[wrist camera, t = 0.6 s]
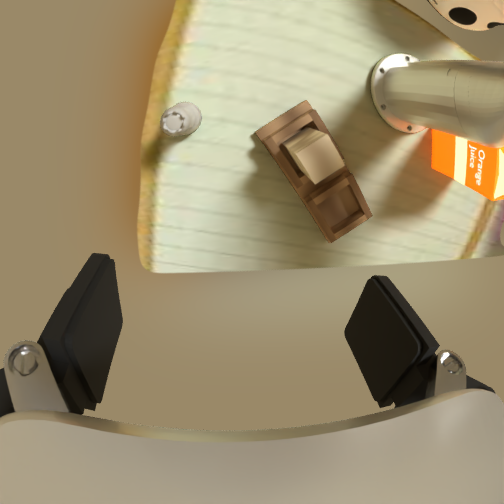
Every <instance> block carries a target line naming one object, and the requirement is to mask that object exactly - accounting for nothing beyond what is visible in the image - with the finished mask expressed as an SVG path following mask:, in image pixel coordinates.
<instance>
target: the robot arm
mask: <svg viewBox="0 0 504 504" xmlns="http://www.w3.org/2000/svg"><path fill="white" fill-rule="evenodd" d="M379 70H380V71H379ZM371 94H372V98H373V102H374V105H375V107H376V109H377V111H378V112H379V114H380V115H381V117H382V118H383V119H384V120H385V121H386V123H388V124H389V125H390V126H392V127H393V128H395V129H397V130H399V131H402V132H406V133H417V132H420V131H422V130H424V129H426V128H430V129H434V130H437V131H441V132H444V133H447V134H450V135H454V136H457V137H460V138H463V139H466V140H469V141H471V142H474V143H477V144H480V145H483V146H486V147H490V148H501V147H504V62H498V61H496V62H495V61H474V60H434V61H420V60H418V59H417V58H415V57H413V56H411V55H409V54H404V53H395V54H390V55H388V56H385V57H384V58H382V59H381V60H380V61H379V62H378V63H377V65H376V66H375V68H374V70H373V73H372V77H371ZM381 106H382V108H381ZM122 323H123V318H122V313H121V306H120V300H119V293H118V286H117V279H116V271H115V262H114V260H113V259H110V257H109V255H108V254H99V253H93V254H92V255H91V256H90V258H89V259H88V260H87V262H86V263H85V265H84V266H83V268H82V270H81V271H80V272H79V274H78V276H77V277H76V279H75V280H74V282H73V284H72V285H71V287H70V288H69V289H67V290H66V292H65V293H64V295H63V297H62V298H61V300H60V302H59V303H58V305H57V307H56V308H55V310H54V312H53V314H52V315H51V317H50V319H49V321H48V323H47V324H46V326H45V328H44V330H43V332H42V334H41V336H40V338H39V340H38V342H37V343H36V342H34V341H27V340H25V341H20V342H18V343H16V344H14V345H13V346H12V347H11V348H10V349H9V350H8V351H7V353H6V354H5V358H4V368H2V369H0V504H504V403H503V402H502V401H501V399H500V398H499V397H498V396H497V395H496V394H495V392H494V390H493V389H492V388H491V387H488V386H487V385H485V384H483V383H481V382H479V381H477V380H475V379H473V378H471V377H469V376H467V375H466V367H465V364H464V362H463V360H462V359H461V358H460V357H459V356H458V355H457V354H456V353H454V352H453V351H450V350H442V351H440V352H439V353H438V355H437V356H436V354H435V351H436V350H437V349H438V347H439V346H440V345H439V344H438V343H437V341H436V340H435V338H434V337H433V335H432V334H431V333H430V331H429V330H428V329H427V327H426V326H425V324H424V323H423V322H422V320H421V319H420V318H419V316H418V315H417V314H416V312H415V311H414V310H413V308H412V307H411V306H410V304H409V303H408V302H407V301H406V299H405V298H404V297H403V295H402V294H401V293H400V292H399V290H398V289H397V288H396V287H395V285H394V284H393V283H392V282H391V281H390V279H389V278H388V277H387V276H377V275H374V276H372V277H371V279H369V280H368V281H367V283H366V285H365V287H364V290H363V292H362V294H361V296H360V298H359V301H358V303H357V305H356V307H355V309H354V311H353V313H352V315H351V318H350V320H349V322H348V324H347V326H346V328H345V338H346V340H347V342H348V344H349V346H350V348H351V350H352V352H353V355H354V357H355V359H356V361H357V363H358V365H359V367H360V370H361V372H362V374H363V376H364V378H365V381H366V383H367V385H368V387H369V390H370V392H371V394H372V396H373V398H374V400H375V401H377V402H378V405H379V407H380V408H382V407H386V406H390V405H391V404H392V403H393V402H394V403H395V408H394V409H391V410H387V411H383V412H379V413H375V414H370V415H366V416H362V417H357V418H352V419H347V420H341V421H336V422H330V423H323V424H317V425H310V426H301V427H291V428H281V429H267V430H246V431H245V430H244V431H209V430H187V429H174V428H164V427H154V426H145V425H137V424H130V423H124V422H117V421H112V420H106V419H101V418H95V417H90V416H83V415H82V414H83V413H84V408H85V409H89V410H93V411H95V408H96V403H101V401H102V397H103V393H104V389H105V385H106V381H107V377H108V373H109V369H110V366H111V362H112V359H113V355H114V352H115V348H116V345H117V342H118V338H119V335H120V332H121V329H122Z"/></svg>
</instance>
